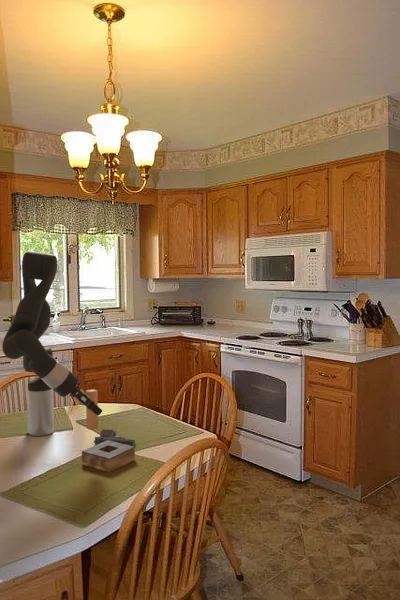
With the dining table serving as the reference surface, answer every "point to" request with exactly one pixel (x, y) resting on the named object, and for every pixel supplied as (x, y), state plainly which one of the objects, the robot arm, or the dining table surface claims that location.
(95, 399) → the peg
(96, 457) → the socket
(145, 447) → the dining table surface
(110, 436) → the pistol
